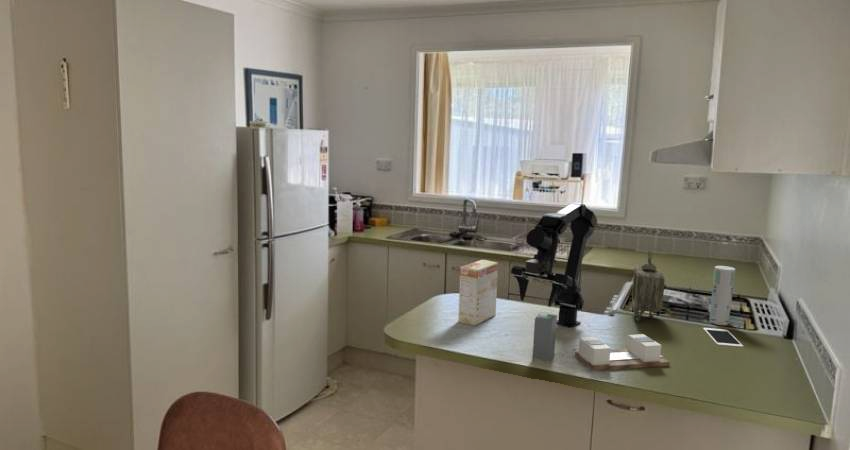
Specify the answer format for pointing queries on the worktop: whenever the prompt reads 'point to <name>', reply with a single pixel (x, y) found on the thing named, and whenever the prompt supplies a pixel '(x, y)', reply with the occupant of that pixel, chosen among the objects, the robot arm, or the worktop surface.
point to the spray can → (722, 295)
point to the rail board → (623, 361)
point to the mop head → (647, 288)
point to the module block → (544, 336)
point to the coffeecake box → (477, 292)
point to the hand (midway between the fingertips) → (535, 303)
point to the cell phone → (723, 337)
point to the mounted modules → (636, 344)
